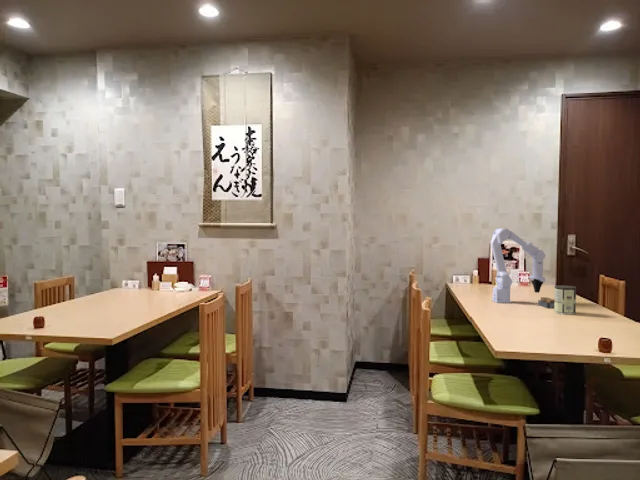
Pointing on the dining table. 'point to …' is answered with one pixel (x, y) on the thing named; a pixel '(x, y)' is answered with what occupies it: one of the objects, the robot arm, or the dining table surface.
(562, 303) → the coffee can
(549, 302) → the brown rectangular block
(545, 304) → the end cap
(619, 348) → the dining table surface
